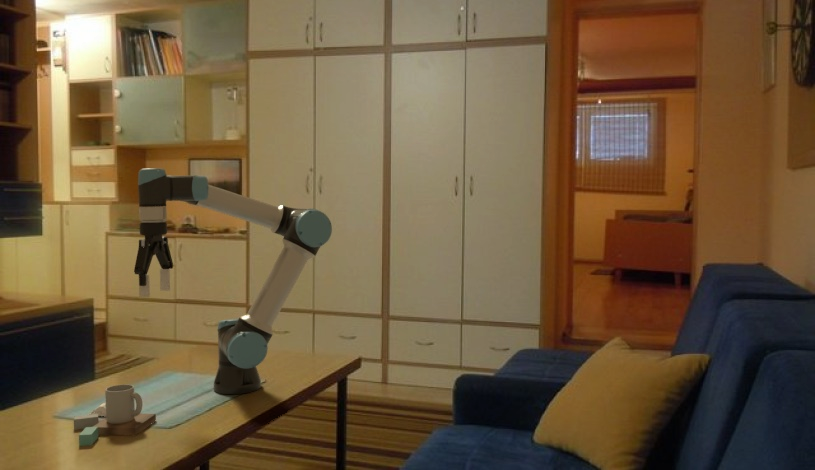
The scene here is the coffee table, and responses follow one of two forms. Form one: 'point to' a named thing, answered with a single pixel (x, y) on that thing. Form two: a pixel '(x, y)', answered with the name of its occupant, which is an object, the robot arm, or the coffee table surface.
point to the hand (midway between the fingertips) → (155, 293)
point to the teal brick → (88, 436)
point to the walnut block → (126, 426)
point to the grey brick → (85, 421)
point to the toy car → (100, 410)
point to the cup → (122, 404)
